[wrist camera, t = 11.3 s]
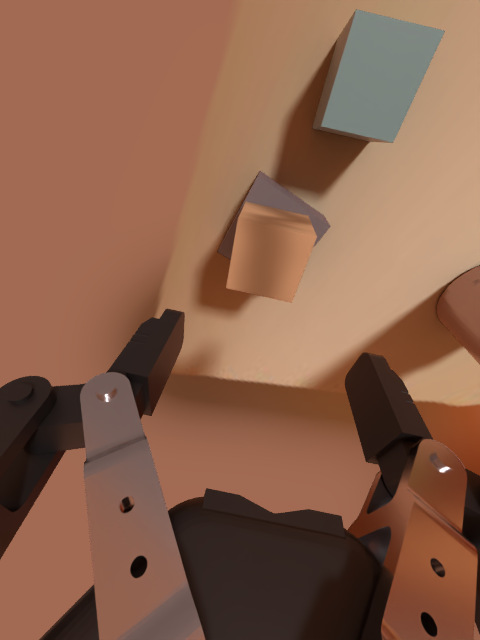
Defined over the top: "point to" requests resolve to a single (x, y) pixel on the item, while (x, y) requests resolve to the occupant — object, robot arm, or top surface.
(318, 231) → the charcoal block
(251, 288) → the oak block
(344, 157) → the top surface
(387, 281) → the top surface
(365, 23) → the teal block
